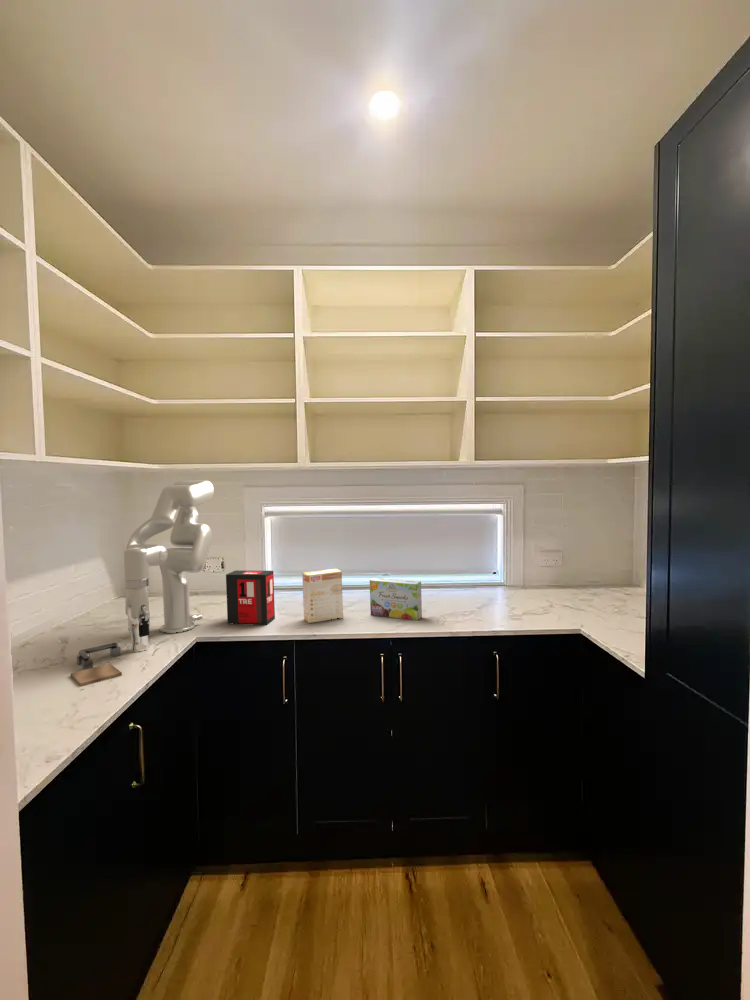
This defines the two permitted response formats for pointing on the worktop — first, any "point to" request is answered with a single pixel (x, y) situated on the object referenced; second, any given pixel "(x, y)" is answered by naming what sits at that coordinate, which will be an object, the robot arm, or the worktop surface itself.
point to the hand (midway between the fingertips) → (138, 633)
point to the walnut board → (95, 674)
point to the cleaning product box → (250, 597)
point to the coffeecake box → (322, 595)
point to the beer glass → (137, 634)
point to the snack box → (396, 598)
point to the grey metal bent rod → (85, 657)
